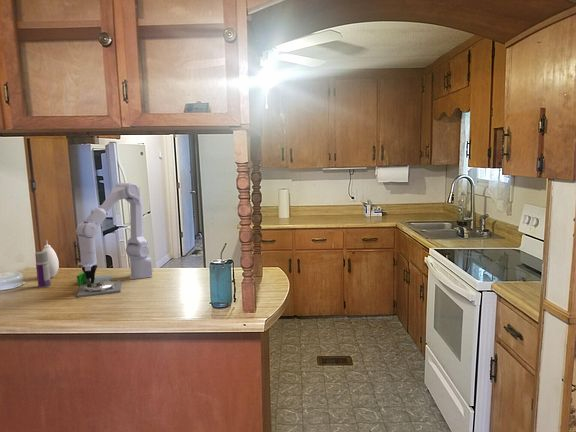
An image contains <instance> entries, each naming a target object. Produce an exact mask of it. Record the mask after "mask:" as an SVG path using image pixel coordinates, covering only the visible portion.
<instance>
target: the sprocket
mask: <svg viewBox="0 0 576 432" xmlns="http://www.w3.org/2000/svg"><path fill="white" fill-rule="evenodd" d="M85 285H86V286H85V287H83V290H87V291H89V292H93V291H105V290H107V289H110V288H114V285H116V282H113V281H112V280H111V281H100V282H99V281H97V282H94V283H93V284H91V278H87V283H86V284H85Z"/></svg>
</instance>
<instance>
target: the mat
mask: <svg viewBox="0 0 576 432" xmlns="http://www.w3.org/2000/svg"><path fill="white" fill-rule="evenodd" d="M97 281H99V282H100V281H111V282H112V275H106V276H95V280H94V282H97Z"/></svg>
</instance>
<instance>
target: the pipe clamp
mask: <svg viewBox="0 0 576 432" xmlns="http://www.w3.org/2000/svg"><path fill="white" fill-rule="evenodd" d="M76 279H77V286H78V287H80V286H81V285H86V284H87V279H86V275H85V273H84V272H83V271H82V272H81V273H79V274H78V275H76ZM94 280H95V278H94Z"/></svg>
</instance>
